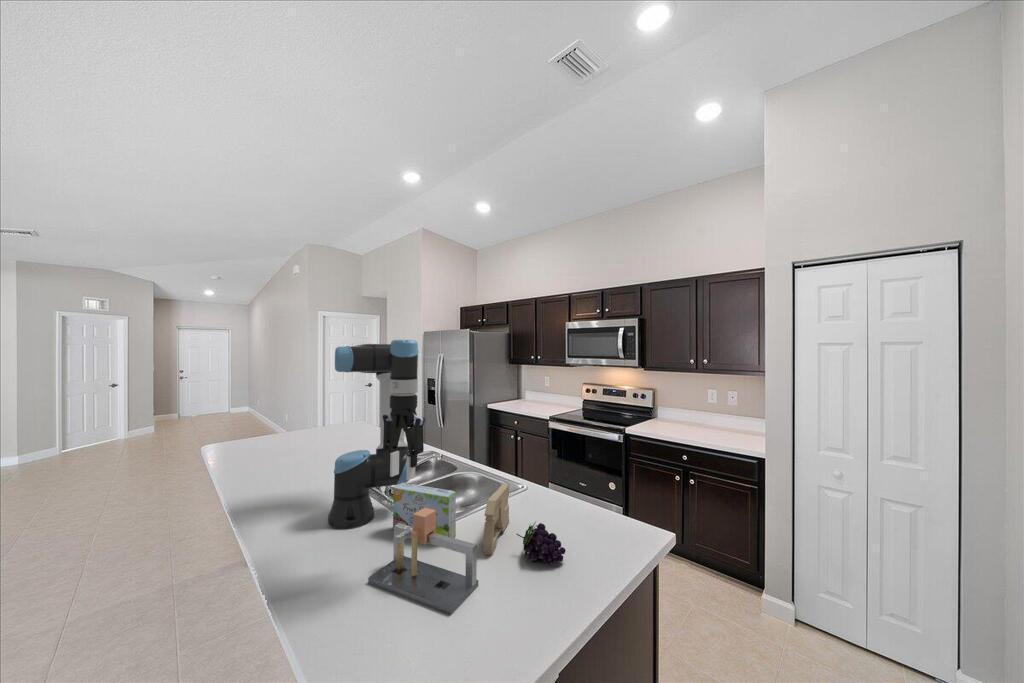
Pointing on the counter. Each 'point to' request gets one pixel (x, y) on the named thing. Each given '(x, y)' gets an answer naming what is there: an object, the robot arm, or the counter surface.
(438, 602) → the bolt plate
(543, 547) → the fruit
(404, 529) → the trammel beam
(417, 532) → the block
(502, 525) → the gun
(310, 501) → the counter surface
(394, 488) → the snack box
